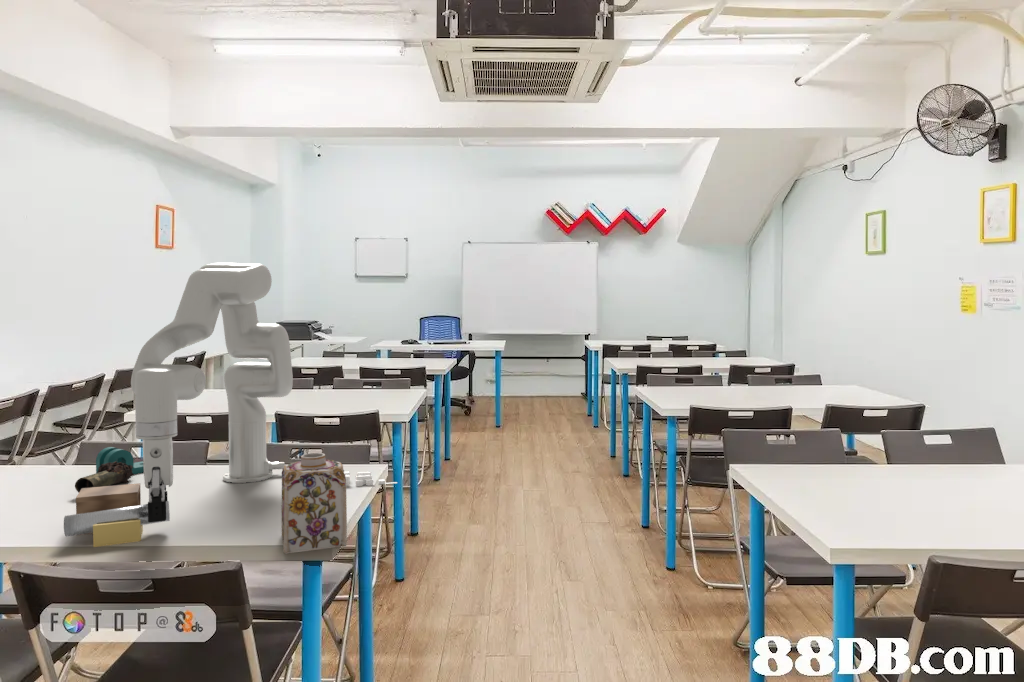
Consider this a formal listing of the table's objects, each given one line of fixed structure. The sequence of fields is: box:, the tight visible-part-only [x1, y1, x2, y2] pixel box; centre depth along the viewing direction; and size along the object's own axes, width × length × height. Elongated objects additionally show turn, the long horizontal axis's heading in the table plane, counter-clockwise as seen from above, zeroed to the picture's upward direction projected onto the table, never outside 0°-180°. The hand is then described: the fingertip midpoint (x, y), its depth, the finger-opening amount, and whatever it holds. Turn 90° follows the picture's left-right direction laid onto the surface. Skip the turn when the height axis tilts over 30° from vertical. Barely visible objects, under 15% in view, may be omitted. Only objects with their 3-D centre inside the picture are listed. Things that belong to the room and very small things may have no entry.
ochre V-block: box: [92, 519, 144, 548], centre depth 137 cm, size 8×7×4 cm
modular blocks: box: [344, 470, 398, 487], centre depth 181 cm, size 20×7×4 cm, turn 104°
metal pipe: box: [74, 461, 135, 493], centre depth 176 cm, size 18×7×6 cm, turn 177°
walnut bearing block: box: [75, 482, 142, 536], centre depth 145 cm, size 11×8×8 cm
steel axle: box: [63, 500, 171, 538], centre depth 137 cm, size 18×4×4 cm, turn 115°
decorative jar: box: [280, 452, 348, 554], centre depth 135 cm, size 12×12×18 cm
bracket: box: [95, 446, 144, 475], centre depth 194 cm, size 18×7×8 cm, turn 145°
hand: (158, 515), depth 140 cm, fingers open, 7 cm apart
